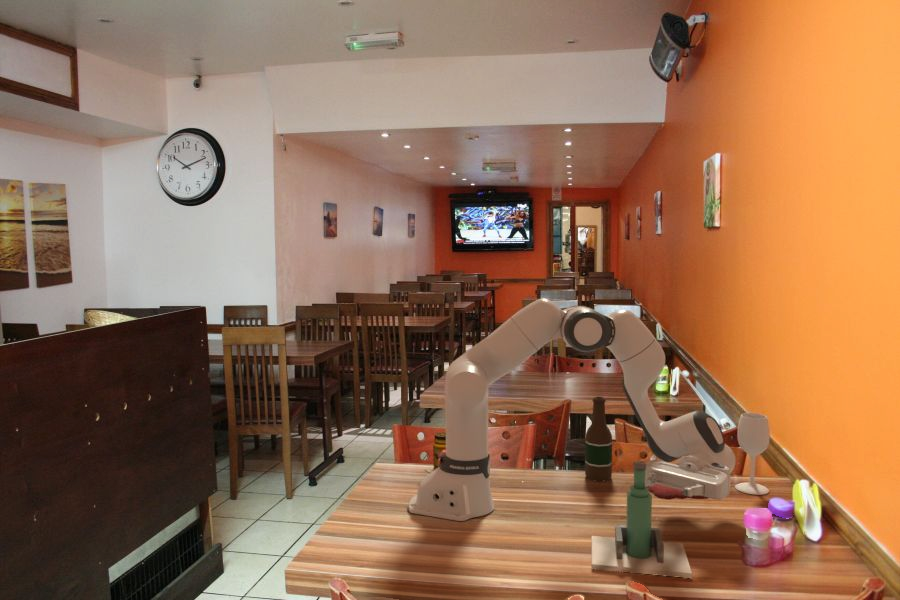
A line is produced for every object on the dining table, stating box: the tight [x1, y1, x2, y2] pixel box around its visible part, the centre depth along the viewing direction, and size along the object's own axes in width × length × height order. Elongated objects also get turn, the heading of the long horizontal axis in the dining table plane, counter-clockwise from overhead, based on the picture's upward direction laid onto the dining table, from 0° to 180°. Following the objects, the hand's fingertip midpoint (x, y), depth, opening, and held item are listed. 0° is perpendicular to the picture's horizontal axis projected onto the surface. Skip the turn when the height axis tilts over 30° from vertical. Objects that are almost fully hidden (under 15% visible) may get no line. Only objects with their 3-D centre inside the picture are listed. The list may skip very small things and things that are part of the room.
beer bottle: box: [584, 396, 613, 482], centre depth 192 cm, size 8×8×24 cm
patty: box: [647, 483, 709, 500], centre depth 183 cm, size 18×14×2 cm
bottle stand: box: [591, 524, 693, 580], centre depth 142 cm, size 20×14×5 cm
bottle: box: [625, 460, 653, 559], centre depth 141 cm, size 5×5×20 cm
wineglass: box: [734, 412, 771, 496], centre depth 182 cm, size 9×9×21 cm
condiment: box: [424, 432, 446, 474], centre depth 199 cm, size 7×8×12 cm
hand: (667, 487), depth 149 cm, fingers open, 8 cm apart
